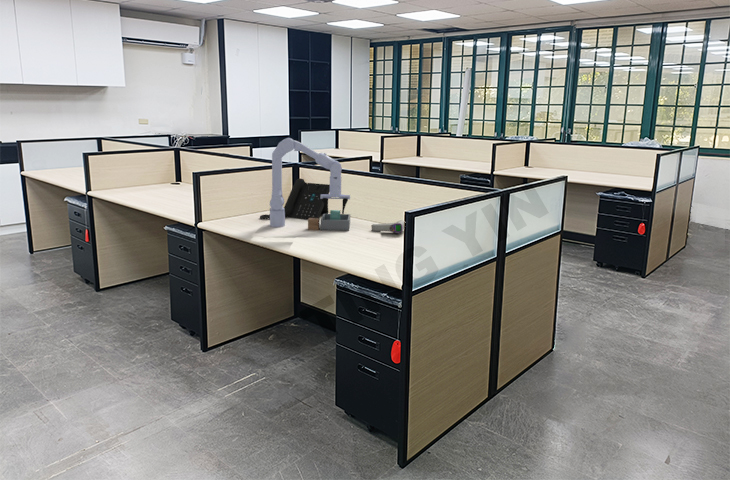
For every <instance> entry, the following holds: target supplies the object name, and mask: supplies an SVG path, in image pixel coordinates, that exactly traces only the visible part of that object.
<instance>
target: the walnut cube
mask: <svg viewBox="0 0 730 480" xmlns="http://www.w3.org/2000/svg"><path fill="white" fill-rule="evenodd" d="M307 230H308V231H319V230H320V217H319V218H309V219H307Z"/></svg>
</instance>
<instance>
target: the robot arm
mask: <svg viewBox="0 0 730 480" xmlns="http://www.w3.org/2000/svg"><path fill="white" fill-rule="evenodd" d="M292 151H293V152H301V153H303V154H305V155H307V156H308V157H310V158H313V159H314V160H315V163H316V164H318V165H319V166H321V167H322V168H324V169H326V170H329V172H330V173H329V174H330V175H329V185H330V192H329V194H321V195H320V199H323V203H324V205H325V208H326V212H327V214H329V199H330V200H342V211H341V214H345V209H346V205H347V203H348V201H349V200H351V194H342V170H343V167H342V164H341V162H340V161H338V160H336V159H335V158H332V157H330V156H328V155H327V153H326V152H324V153H323V152H320V153H318V152H317V151H316V150H313V149H312V148H310V147H308V146H307V145H305V144H304V143H302V142H300V141H299V140H294V139H293V138H291V137H286V138H284V139H282V140H281V141H279V142H278V144H277V146H276V147H275V149H274V150H273V152H272V154H271V168H272V169H271V177H272V178H271V183H272V187H271V188H272V189H271V190H272V191H271V198H270V201H269V206H270V208H269V214H270V219H269V226H270V227H272V228H282V227H285V226H286V217H285V210H284V209H285V208H284V205H285V198H284V196H283V157H284V156H285V155H286V154H288V153H289V152H292Z"/></svg>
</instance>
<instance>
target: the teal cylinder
mask: <svg viewBox="0 0 730 480" xmlns="http://www.w3.org/2000/svg"><path fill="white" fill-rule="evenodd" d="M329 212H330V213H329V214H330V220H340V214H341V210H339V209H331V210H330V211H329Z"/></svg>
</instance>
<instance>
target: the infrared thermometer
mask: <svg viewBox="0 0 730 480" xmlns="http://www.w3.org/2000/svg"><path fill="white" fill-rule="evenodd" d="M404 222H405V220H398V221H396V222H389V223H371V231H372V232H392V233H397V234H399V233H402V232H403V231H404V230H405V228H404Z"/></svg>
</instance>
